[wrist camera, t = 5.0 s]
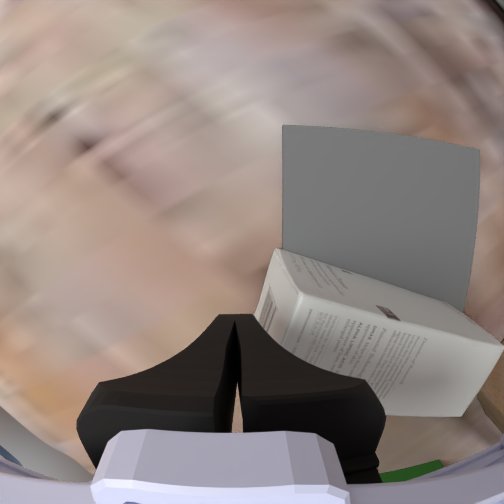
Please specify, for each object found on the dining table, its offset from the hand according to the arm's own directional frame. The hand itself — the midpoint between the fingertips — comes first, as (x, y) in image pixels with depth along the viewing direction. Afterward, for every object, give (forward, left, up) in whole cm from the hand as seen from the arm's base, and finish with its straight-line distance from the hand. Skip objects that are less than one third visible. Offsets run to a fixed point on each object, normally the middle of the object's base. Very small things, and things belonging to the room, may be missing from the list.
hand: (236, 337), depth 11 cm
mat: (0, -11, -9) cm, 14 cm away
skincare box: (-1, -1, -5) cm, 5 cm away
